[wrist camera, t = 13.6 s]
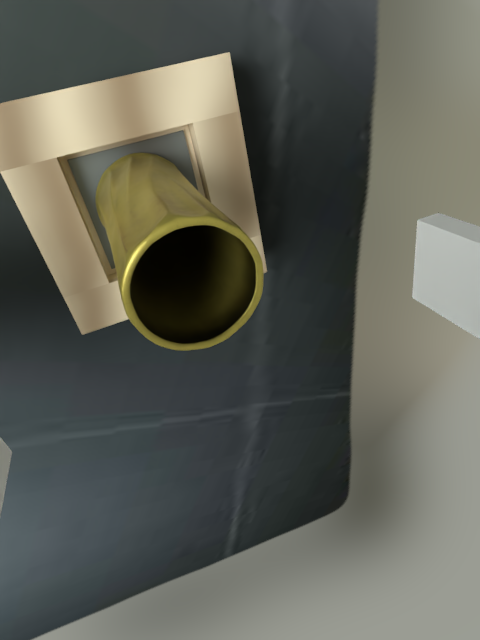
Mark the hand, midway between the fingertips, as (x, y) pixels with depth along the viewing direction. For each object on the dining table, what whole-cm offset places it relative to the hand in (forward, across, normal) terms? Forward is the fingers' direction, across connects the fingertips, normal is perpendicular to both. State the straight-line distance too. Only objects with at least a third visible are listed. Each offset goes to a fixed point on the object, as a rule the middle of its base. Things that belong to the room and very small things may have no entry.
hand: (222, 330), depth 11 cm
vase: (+18, 0, 0) cm, 18 cm away
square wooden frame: (+20, 0, -1) cm, 20 cm away
